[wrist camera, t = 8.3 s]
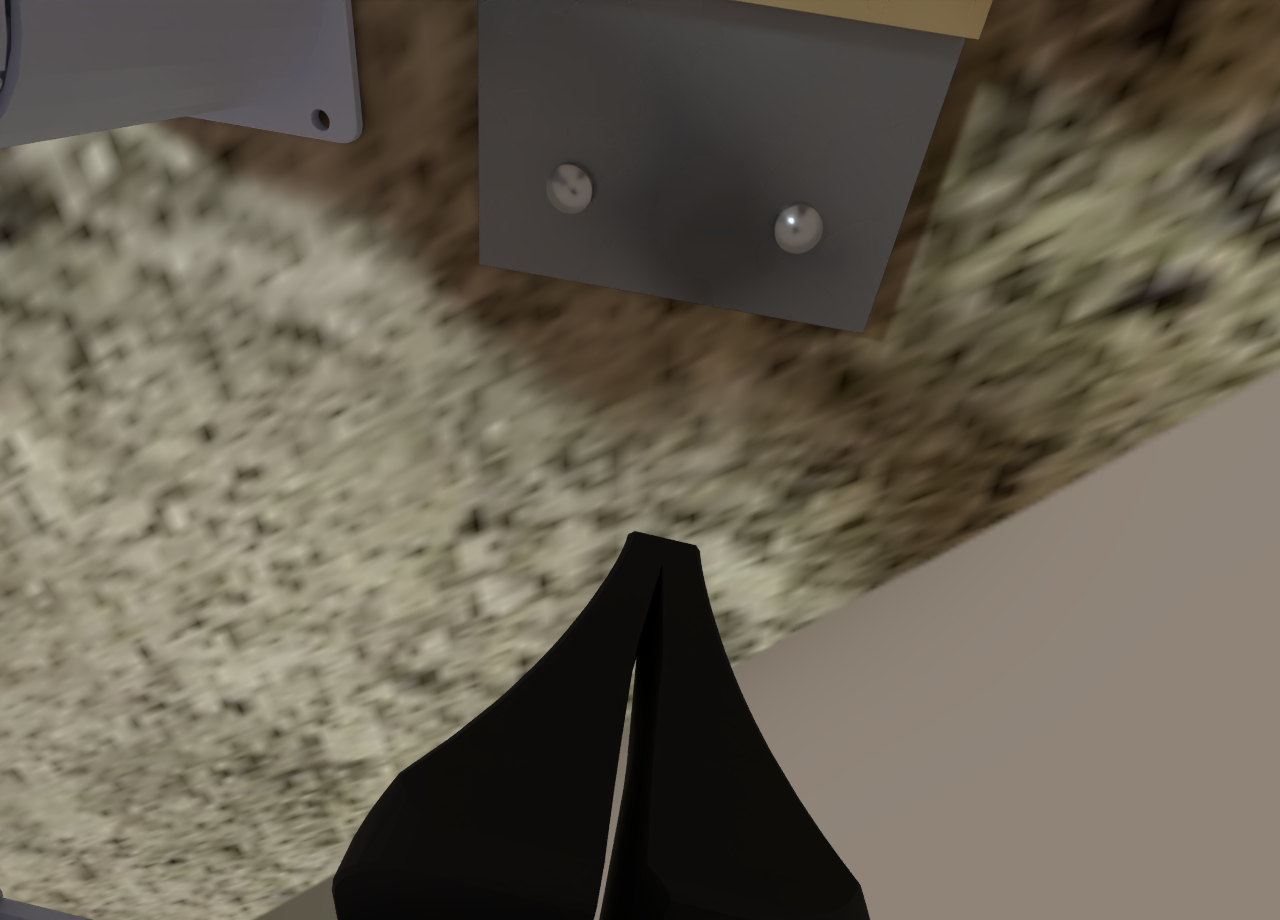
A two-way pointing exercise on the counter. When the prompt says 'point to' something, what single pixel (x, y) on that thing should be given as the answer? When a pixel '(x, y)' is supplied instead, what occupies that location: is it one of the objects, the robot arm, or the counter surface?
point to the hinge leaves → (711, 143)
